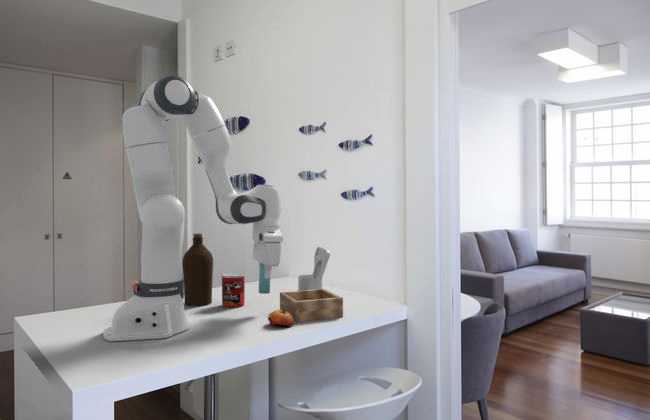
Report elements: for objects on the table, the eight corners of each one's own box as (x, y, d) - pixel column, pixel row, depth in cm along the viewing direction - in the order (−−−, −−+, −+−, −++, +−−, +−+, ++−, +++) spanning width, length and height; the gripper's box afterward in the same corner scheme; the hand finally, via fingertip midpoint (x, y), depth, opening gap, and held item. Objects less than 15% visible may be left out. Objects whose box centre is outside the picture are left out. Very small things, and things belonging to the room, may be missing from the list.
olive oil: (219, 301, 170) (219, 233, 169) (200, 308, 160) (200, 235, 160) (196, 299, 174) (195, 232, 174) (176, 305, 165) (175, 234, 164)
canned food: (218, 307, 161) (218, 275, 161) (228, 302, 169) (228, 272, 169) (238, 308, 159) (238, 276, 159) (248, 303, 167) (247, 272, 167)
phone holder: (296, 290, 190) (296, 246, 190) (321, 289, 193) (321, 245, 192) (305, 299, 174) (305, 251, 173) (332, 298, 176) (332, 250, 176)
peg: (260, 293, 150) (261, 256, 150) (257, 291, 154) (258, 255, 154) (271, 293, 152) (272, 256, 152) (268, 291, 155) (269, 255, 155)
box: (295, 321, 143) (295, 302, 142) (279, 310, 157) (279, 292, 157) (343, 316, 149) (343, 297, 149) (323, 305, 163) (323, 288, 163)
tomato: (287, 325, 133) (274, 304, 136) (270, 339, 135) (258, 318, 138) (301, 323, 140) (289, 303, 143) (285, 336, 142) (273, 316, 145)
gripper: (249, 232, 161) (247, 272, 161) (264, 236, 142) (263, 282, 142) (267, 232, 163) (265, 272, 163) (284, 237, 144) (283, 281, 145)
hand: (264, 276), depth 153 cm, fingers closed on peg, 4 cm apart
